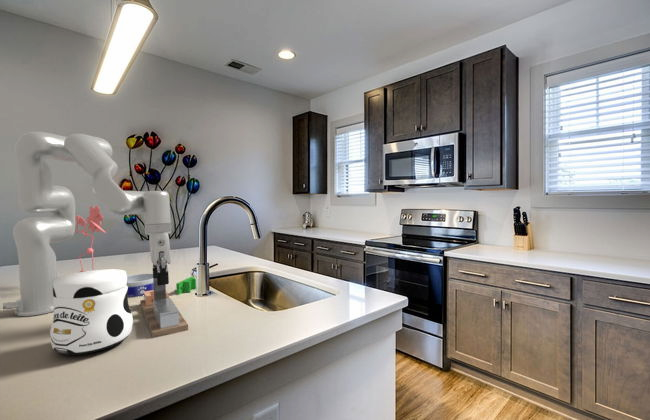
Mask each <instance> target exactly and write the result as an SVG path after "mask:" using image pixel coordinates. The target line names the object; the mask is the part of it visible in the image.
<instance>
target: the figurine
mask: <svg viewBox="0 0 650 420" xmlns="http://www.w3.org/2000/svg"><path fill="white" fill-rule="evenodd" d="M103 220H104V215H103V214H101V208H100V207H99V205H97V204H96V206H95V207H94V206H93V205H92V204H91V205H90V207H89V216H87V217H86V220H85V219H84V218H83V217H82V216H80V215H79V214H77V216H75V222H76V224H75V232H74V234H78V233H81V234H83V235H84V236H85V237H88V236H89V237H91V242H90V243H91V244H90V247H87V249H86V251H85V252H86V253H84V254H82V255H80V256H78V258H79V263H80V266H81V269H82V270H80V271H79V272H85V271H86V270H84V267H83V263H82V260H81V257H83V256H85V255H91V261H92V262H91V263H92V265H91V266H92V267H91V269H92V270H95V269H94V251H95V250H94V249H93V242H94V239H95V237H94V236H93V235H91V234H89V232H91V233H92V234H93V233H94V232H95V231H96V232H97V233H99V232H100V231H101V232H103V233H104V234H107V232H106V231H105V230H104V229H103V228H102V227H101V226H102V221H103ZM79 225H80V226H81V227H82V228H83V229H82V230H78V226H79ZM86 228H87V230H86V232H85V229H86Z"/></svg>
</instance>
